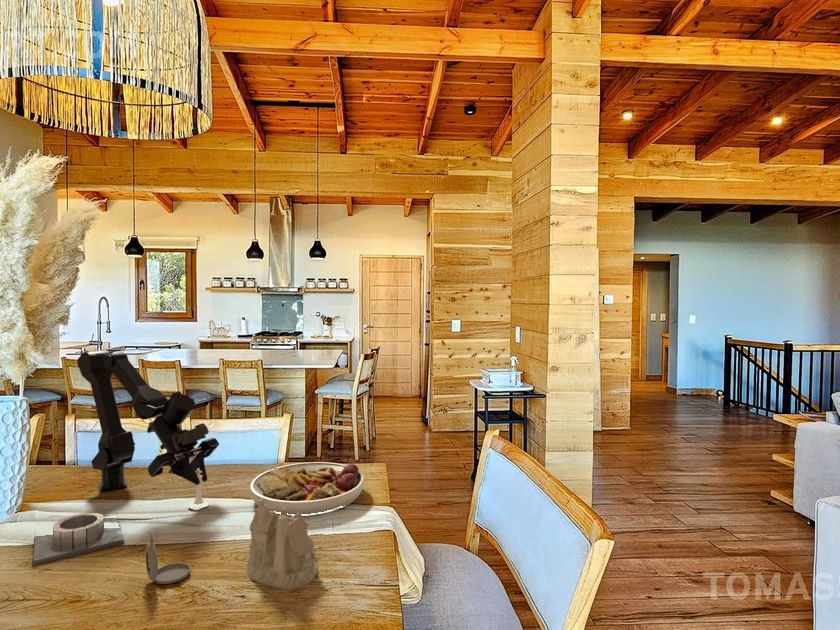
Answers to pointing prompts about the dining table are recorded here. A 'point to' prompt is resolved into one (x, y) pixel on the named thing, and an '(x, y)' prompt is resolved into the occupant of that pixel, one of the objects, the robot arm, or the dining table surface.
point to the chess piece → (198, 488)
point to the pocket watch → (166, 572)
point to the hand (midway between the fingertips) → (202, 482)
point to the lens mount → (76, 538)
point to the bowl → (308, 487)
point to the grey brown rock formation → (280, 549)
